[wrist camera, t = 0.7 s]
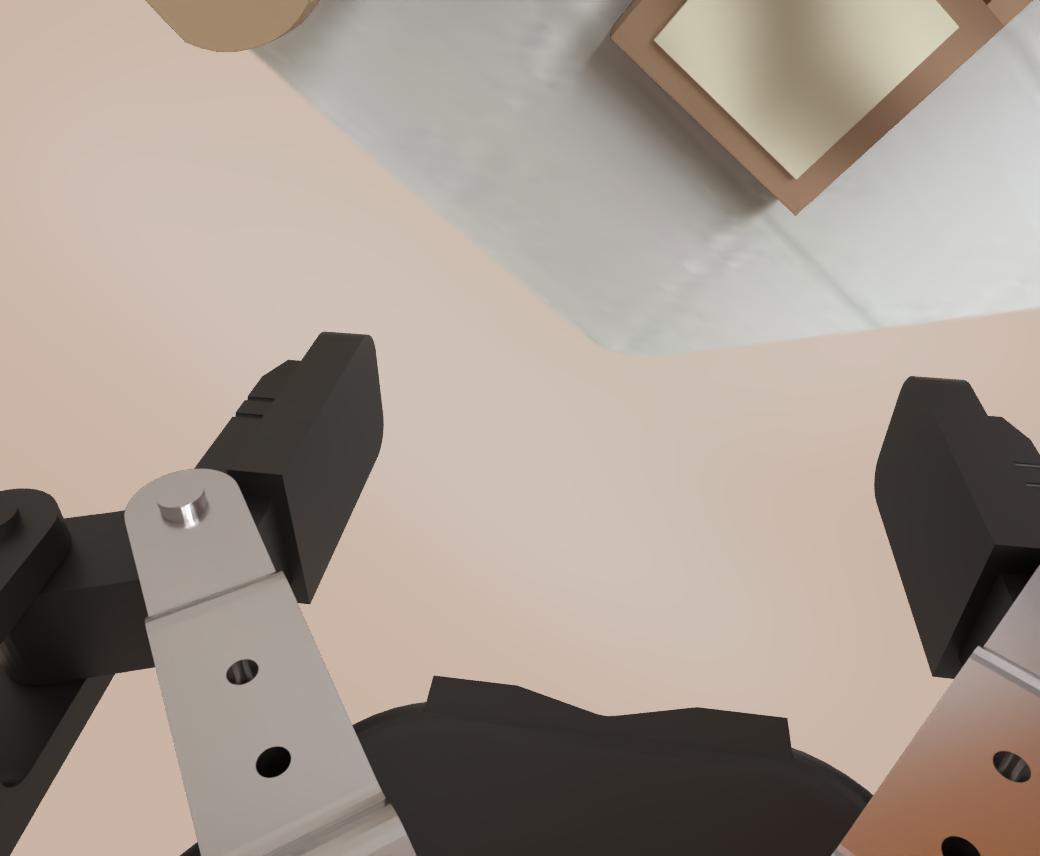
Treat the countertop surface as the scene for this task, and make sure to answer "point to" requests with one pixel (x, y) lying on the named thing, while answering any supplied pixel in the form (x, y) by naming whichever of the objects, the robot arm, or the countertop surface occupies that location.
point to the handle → (232, 21)
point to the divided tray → (804, 73)
